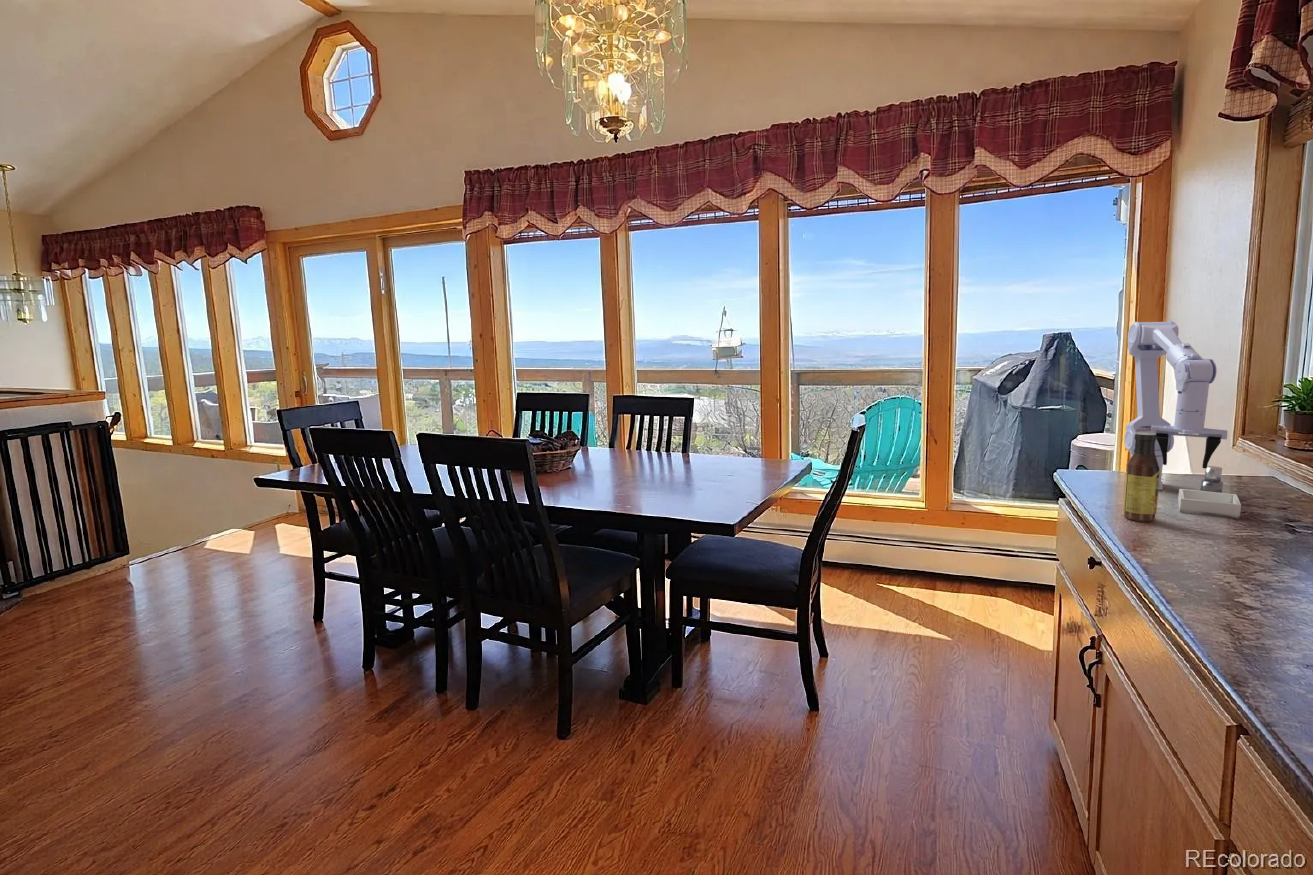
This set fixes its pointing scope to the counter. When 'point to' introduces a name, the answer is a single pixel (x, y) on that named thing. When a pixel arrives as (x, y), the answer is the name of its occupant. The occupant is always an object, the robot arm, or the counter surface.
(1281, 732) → the counter surface
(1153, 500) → the sauce bottle
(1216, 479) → the silver metal knob
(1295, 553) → the counter surface
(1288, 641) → the counter surface
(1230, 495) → the bin
